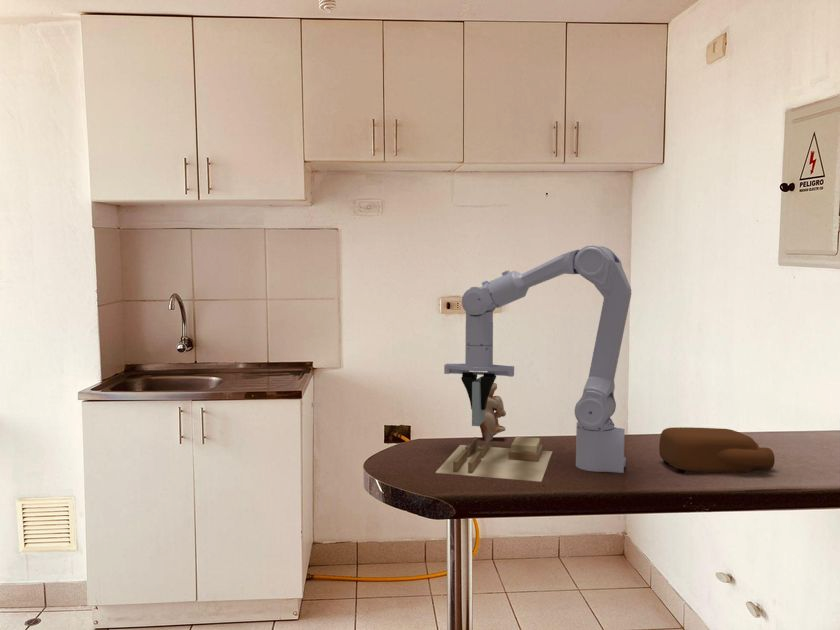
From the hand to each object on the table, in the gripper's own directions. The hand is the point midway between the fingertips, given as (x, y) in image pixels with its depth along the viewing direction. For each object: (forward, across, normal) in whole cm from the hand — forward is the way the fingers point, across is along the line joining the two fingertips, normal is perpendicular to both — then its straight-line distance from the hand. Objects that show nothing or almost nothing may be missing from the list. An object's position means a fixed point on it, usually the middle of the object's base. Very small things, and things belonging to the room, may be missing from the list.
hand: (478, 408), depth 150 cm
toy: (+11, -47, -6) cm, 49 cm away
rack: (+10, -5, +6) cm, 13 cm away
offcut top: (+8, -10, 0) cm, 13 cm away
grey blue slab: (+3, 0, 0) cm, 3 cm away
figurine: (+10, 0, -13) cm, 17 cm away
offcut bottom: (+9, -10, 0) cm, 14 cm away
